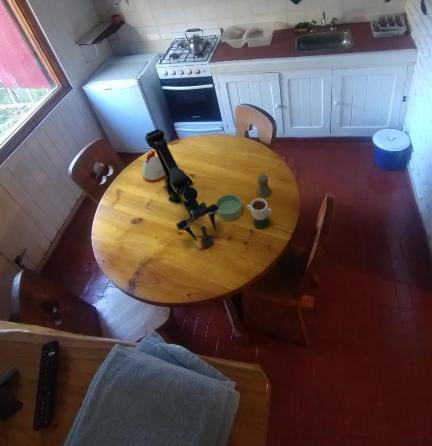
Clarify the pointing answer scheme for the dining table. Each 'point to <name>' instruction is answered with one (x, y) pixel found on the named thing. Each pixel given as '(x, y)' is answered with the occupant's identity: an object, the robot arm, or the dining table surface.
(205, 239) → the grey peg stand
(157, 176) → the kitchen timer
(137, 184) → the dining table surface
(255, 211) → the character mug
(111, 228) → the dining table surface
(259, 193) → the pepper mill
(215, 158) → the dining table surface
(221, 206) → the bowl
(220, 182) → the dining table surface
